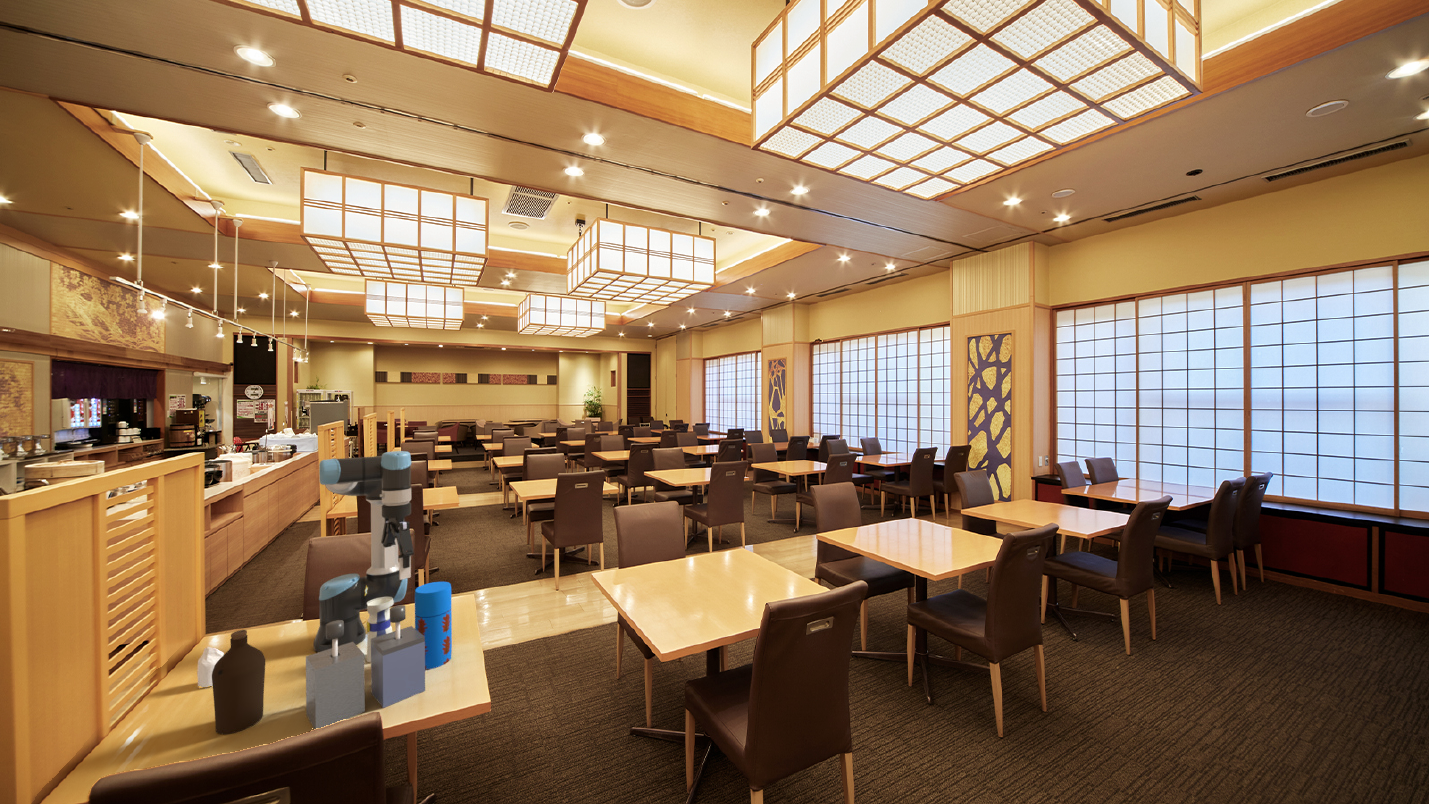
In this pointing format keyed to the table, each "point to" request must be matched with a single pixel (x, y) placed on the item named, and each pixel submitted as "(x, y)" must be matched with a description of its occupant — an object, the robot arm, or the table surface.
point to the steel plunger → (334, 634)
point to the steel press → (334, 685)
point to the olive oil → (238, 686)
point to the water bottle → (378, 619)
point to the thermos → (434, 622)
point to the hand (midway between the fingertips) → (397, 573)
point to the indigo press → (397, 666)
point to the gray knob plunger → (397, 618)
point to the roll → (207, 666)
